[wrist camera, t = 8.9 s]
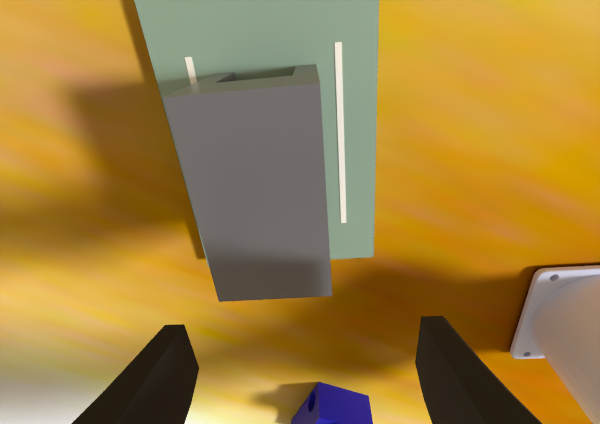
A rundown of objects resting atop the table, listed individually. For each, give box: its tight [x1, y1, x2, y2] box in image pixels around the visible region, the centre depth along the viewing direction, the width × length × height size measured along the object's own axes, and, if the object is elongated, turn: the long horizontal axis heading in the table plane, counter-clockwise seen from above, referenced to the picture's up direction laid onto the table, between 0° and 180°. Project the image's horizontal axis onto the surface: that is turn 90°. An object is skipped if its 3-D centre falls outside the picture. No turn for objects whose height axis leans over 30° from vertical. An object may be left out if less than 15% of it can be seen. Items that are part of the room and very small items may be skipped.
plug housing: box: [163, 64, 332, 302], centre depth 14 cm, size 5×8×6 cm, turn 5°
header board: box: [134, 0, 379, 266], centre depth 16 cm, size 10×14×3 cm
